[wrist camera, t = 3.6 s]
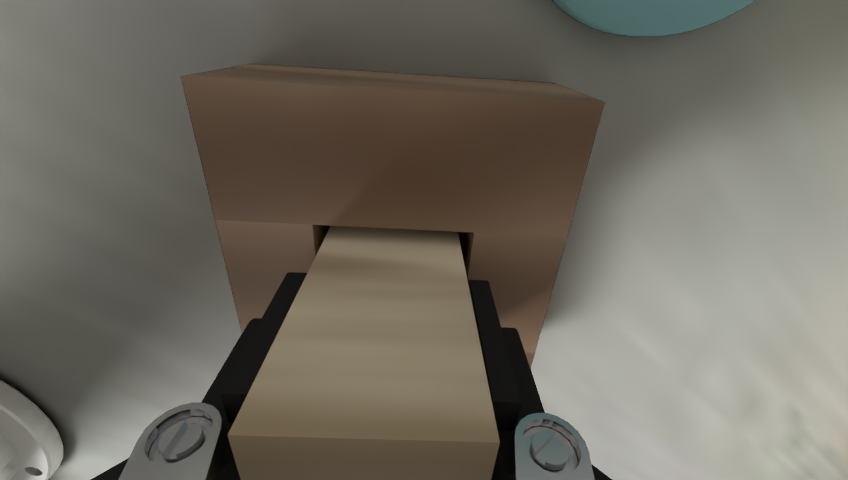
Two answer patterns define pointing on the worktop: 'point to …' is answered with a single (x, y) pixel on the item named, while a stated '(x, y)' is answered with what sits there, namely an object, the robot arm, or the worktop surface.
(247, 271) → the walnut socket block
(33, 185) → the worktop surface
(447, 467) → the maple peg
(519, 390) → the robot arm
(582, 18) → the teal rubber pad
